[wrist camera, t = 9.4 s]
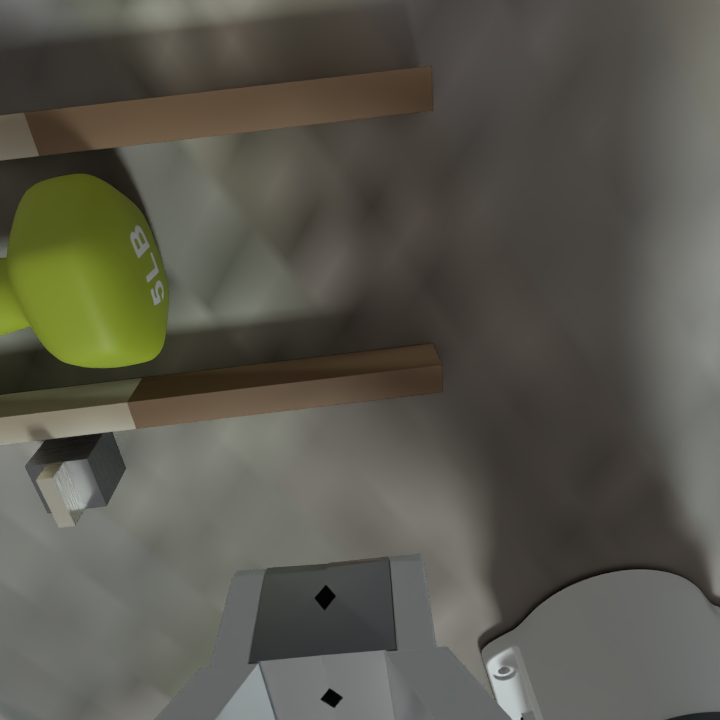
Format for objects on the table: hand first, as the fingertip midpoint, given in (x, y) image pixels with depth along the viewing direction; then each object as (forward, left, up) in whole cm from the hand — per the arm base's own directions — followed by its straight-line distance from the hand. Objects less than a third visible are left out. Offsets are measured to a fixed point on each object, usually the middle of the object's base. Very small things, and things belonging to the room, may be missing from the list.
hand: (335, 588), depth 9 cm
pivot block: (-9, +14, -19) cm, 25 cm away
